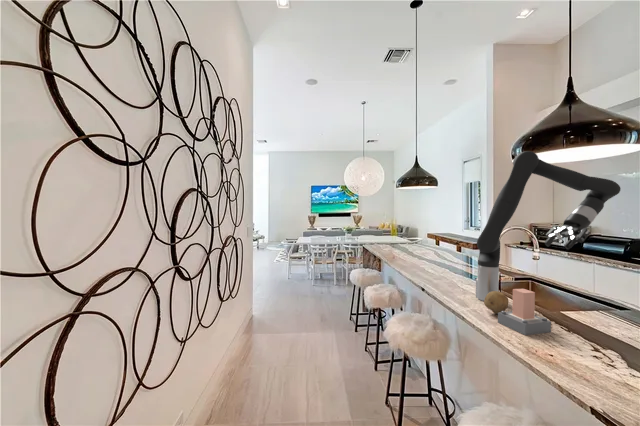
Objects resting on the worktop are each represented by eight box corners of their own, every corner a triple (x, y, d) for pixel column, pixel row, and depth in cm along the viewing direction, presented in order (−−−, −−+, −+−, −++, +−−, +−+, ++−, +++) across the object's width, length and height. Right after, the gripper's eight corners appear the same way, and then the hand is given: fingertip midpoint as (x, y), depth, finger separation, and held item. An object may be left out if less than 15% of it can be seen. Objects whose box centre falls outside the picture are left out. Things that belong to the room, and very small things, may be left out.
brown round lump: (490, 317, 122) (490, 294, 122) (480, 309, 131) (480, 288, 130) (512, 318, 121) (512, 294, 121) (500, 310, 130) (501, 288, 130)
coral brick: (512, 314, 114) (512, 289, 114) (523, 313, 115) (523, 288, 115) (523, 319, 109) (523, 293, 109) (534, 318, 110) (534, 292, 110)
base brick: (497, 322, 116) (497, 310, 116) (521, 319, 119) (521, 308, 119) (525, 335, 105) (525, 322, 105) (550, 332, 108) (551, 319, 108)
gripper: (558, 212, 127) (535, 238, 126) (593, 212, 113) (567, 242, 111) (568, 224, 128) (545, 250, 126) (604, 226, 114) (579, 255, 112)
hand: (556, 246), depth 119 cm, fingers open, 8 cm apart
